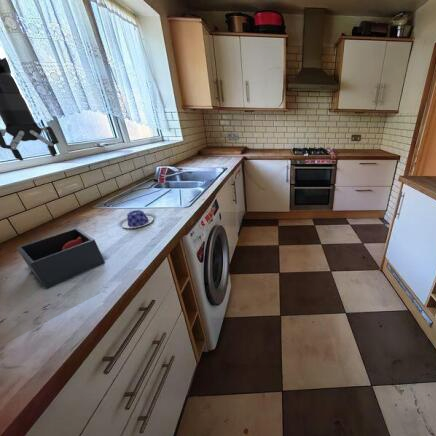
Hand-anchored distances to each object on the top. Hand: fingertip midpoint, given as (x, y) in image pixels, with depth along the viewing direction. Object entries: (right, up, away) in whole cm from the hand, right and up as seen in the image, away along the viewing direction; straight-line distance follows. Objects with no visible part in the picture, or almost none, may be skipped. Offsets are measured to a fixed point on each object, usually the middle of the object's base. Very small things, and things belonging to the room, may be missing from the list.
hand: (38, 158), depth 83 cm
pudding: (+24, -24, +19) cm, 39 cm away
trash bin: (+20, -38, -9) cm, 44 cm away
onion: (+20, -36, -9) cm, 42 cm away
